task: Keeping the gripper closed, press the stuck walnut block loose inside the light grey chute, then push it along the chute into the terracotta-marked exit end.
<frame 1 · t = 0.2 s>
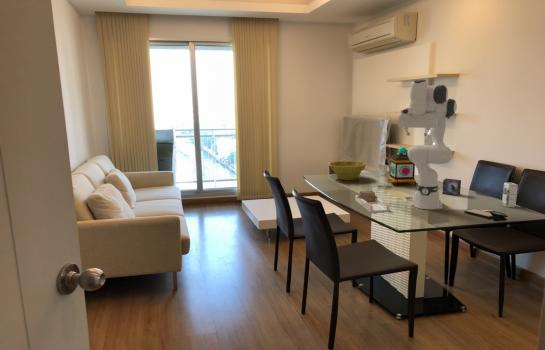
hand: (416, 135, 214), 48 cm above the table, tool pointing down, fingers open, 8 cm apart
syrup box: (508, 206, 245), on the table
walnut block: (367, 196, 261), point 4 cm above the table, slide at 0.0 cm
small box: (451, 194, 278), on the table
decorative lantern: (401, 184, 314), on the table
grey chute: (371, 205, 254), on the table
planter bowl: (347, 179, 339), on the table
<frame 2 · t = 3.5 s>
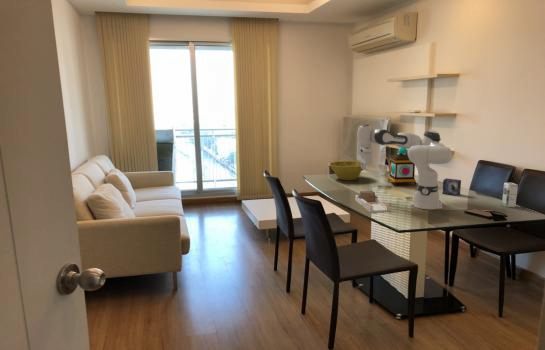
hand: (363, 168, 267), 21 cm above the table, tool pointing down, fingers closed
nothing on the table moved.
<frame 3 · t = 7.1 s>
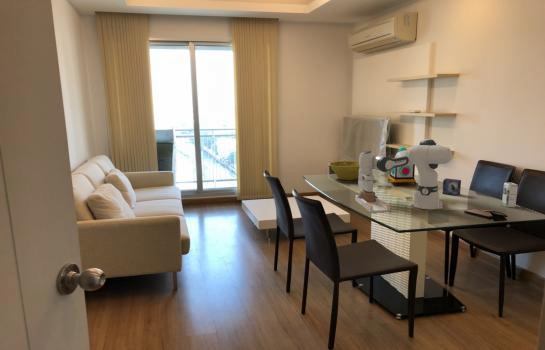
hand: (364, 195, 266), 4 cm above the table, tool pointing down, fingers closed
walnut block: (367, 196, 260), point 4 cm above the table, slide at 0.6 cm, touching gripper
everything else where it was.
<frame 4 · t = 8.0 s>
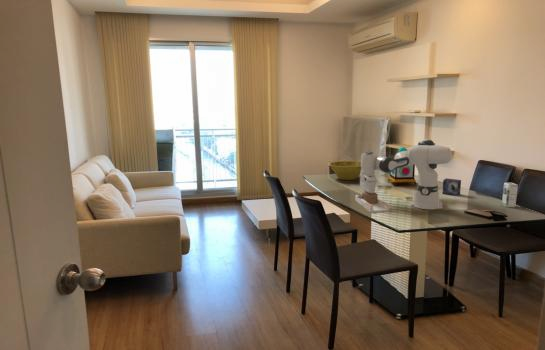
hand: (366, 196, 262), 4 cm above the table, tool pointing down, fingers closed
walnut block: (369, 197, 256), point 4 cm above the table, slide at 4.5 cm, touching gripper
everything else where it was.
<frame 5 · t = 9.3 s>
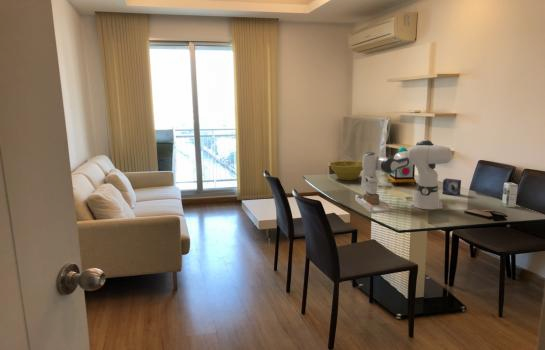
hand: (368, 197, 259), 4 cm above the table, tool pointing down, fingers closed
walnut block: (371, 198, 254), point 4 cm above the table, slide at 7.4 cm, touching gripper
everything else where it was.
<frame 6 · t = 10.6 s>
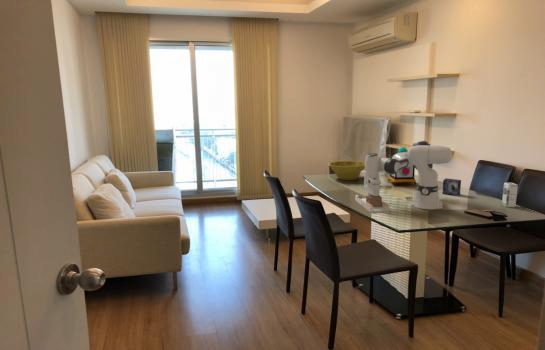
hand: (370, 199, 254), 4 cm above the table, tool pointing down, fingers closed
walnut block: (373, 200, 249), point 4 cm above the table, slide at 12.2 cm, touching gripper
everything else where it was.
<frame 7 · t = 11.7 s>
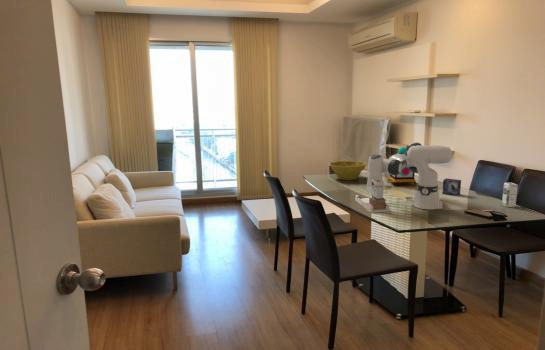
hand: (374, 202, 248), 4 cm above the table, tool pointing down, fingers closed
walnut block: (377, 203, 243), point 4 cm above the table, slide at 18.1 cm, touching gripper
everything else where it was.
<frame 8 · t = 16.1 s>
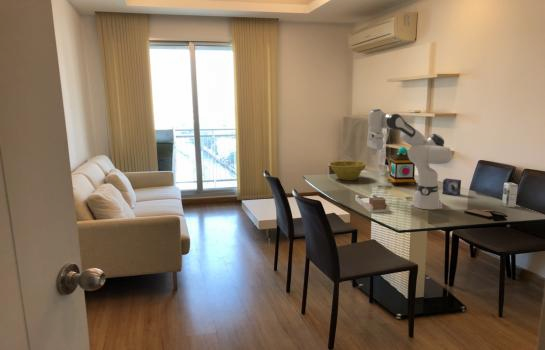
hand: (374, 154, 261), 31 cm above the table, tool pointing down, fingers closed
walnut block: (377, 203, 243), point 4 cm above the table, slide at 18.0 cm
everything else where it was.
at the end: walnut block slide at 18.0 cm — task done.
